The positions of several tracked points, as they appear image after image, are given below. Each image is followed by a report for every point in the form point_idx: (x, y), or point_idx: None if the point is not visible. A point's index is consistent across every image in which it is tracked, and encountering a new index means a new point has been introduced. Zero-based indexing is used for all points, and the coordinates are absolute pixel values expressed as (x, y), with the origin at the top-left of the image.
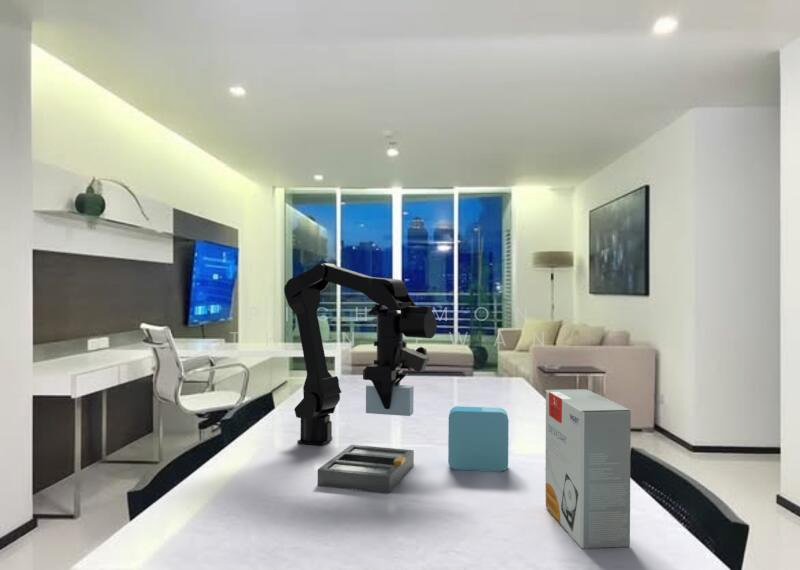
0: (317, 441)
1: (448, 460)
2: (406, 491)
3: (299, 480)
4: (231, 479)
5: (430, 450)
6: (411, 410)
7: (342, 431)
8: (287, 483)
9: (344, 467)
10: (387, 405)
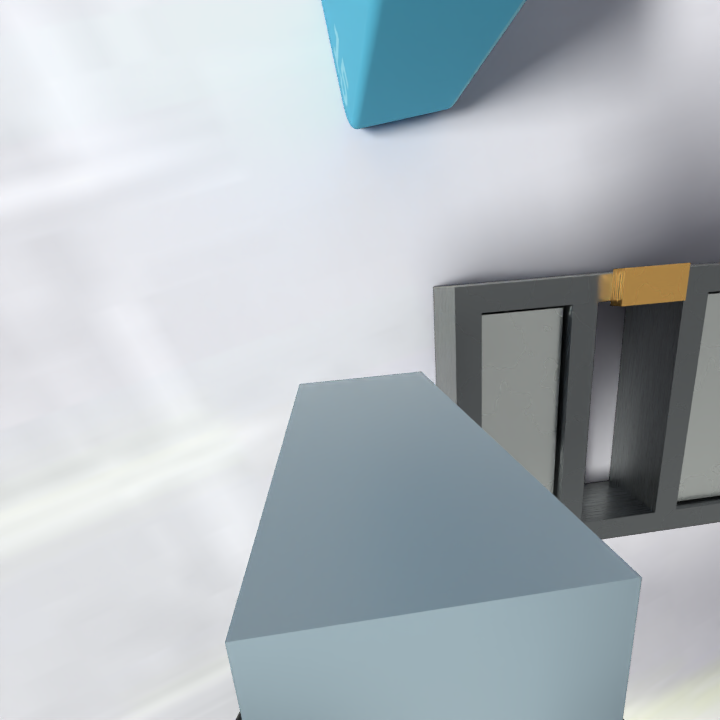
0: None
1: (454, 102)
2: (713, 212)
3: (668, 546)
4: (687, 680)
5: (204, 285)
6: (372, 388)
7: (118, 706)
8: (695, 559)
9: (702, 457)
10: None
